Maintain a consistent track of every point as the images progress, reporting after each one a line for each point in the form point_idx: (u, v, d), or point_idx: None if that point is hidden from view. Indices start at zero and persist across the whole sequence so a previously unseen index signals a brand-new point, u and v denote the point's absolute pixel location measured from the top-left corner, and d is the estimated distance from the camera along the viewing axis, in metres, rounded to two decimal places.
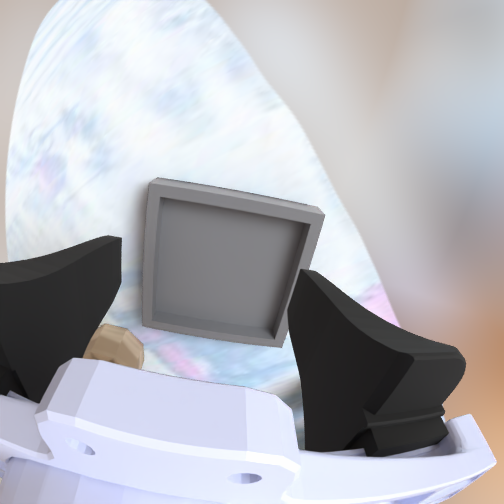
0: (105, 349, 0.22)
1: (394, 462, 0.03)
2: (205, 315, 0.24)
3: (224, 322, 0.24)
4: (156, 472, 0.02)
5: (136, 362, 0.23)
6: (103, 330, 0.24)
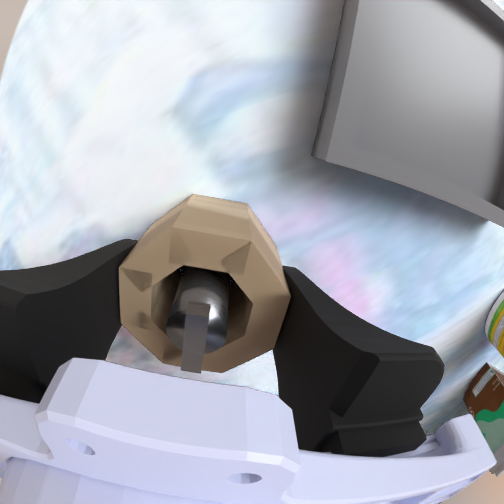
0: (216, 225, 0.09)
1: (394, 462, 0.03)
2: (425, 163, 0.11)
3: (448, 182, 0.11)
4: (156, 472, 0.02)
5: (283, 273, 0.10)
6: (193, 200, 0.11)
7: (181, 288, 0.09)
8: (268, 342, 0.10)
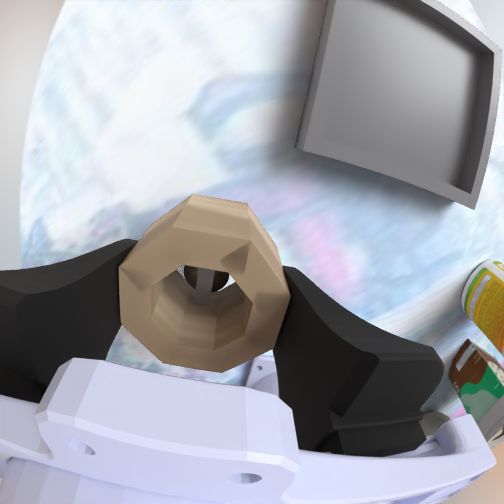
0: (216, 225, 0.09)
1: (395, 461, 0.03)
2: (388, 152, 0.14)
3: (410, 167, 0.14)
4: (156, 472, 0.02)
5: (283, 272, 0.10)
6: (193, 200, 0.11)
7: None
8: (268, 342, 0.10)
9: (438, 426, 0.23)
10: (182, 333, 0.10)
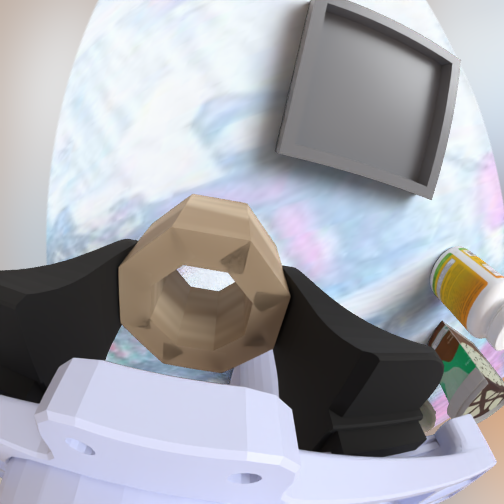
0: (215, 225, 0.09)
1: (394, 462, 0.03)
2: (352, 153, 0.18)
3: (372, 165, 0.18)
4: (156, 472, 0.02)
5: (282, 273, 0.10)
6: (193, 200, 0.11)
7: None
8: (268, 342, 0.10)
9: None
10: (182, 333, 0.10)
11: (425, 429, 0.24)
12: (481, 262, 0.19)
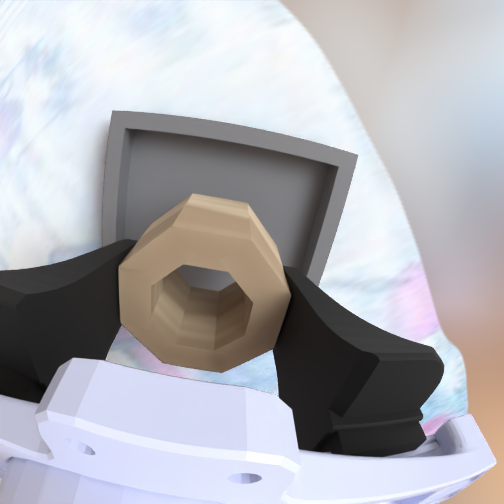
0: (216, 224, 0.09)
1: (394, 462, 0.03)
2: None
3: None
4: (156, 472, 0.02)
5: (283, 272, 0.10)
6: (193, 199, 0.11)
7: None
8: (268, 342, 0.10)
9: None
10: (182, 332, 0.10)
11: None
12: None
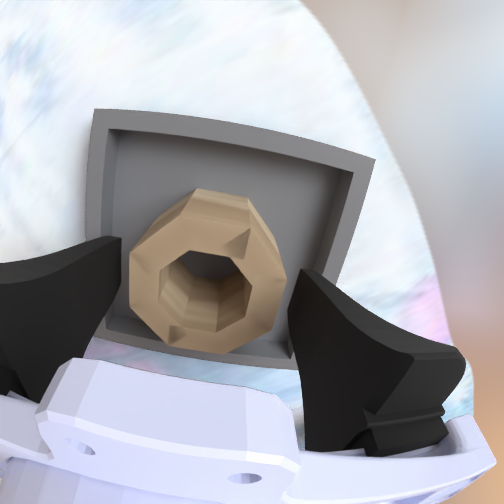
0: (219, 214, 0.10)
1: (394, 462, 0.03)
2: None
3: None
4: (156, 472, 0.02)
5: (280, 260, 0.11)
6: (197, 193, 0.12)
7: None
8: (266, 324, 0.11)
9: None
10: (187, 317, 0.11)
11: None
12: None
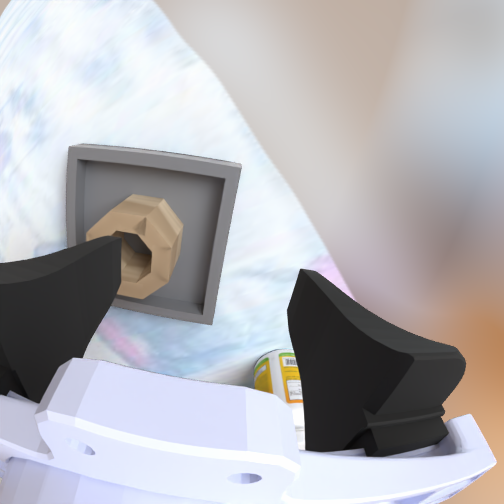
0: (133, 210, 0.16)
1: (394, 462, 0.03)
2: None
3: (152, 295, 0.22)
4: (156, 472, 0.02)
5: (175, 237, 0.17)
6: (130, 197, 0.18)
7: None
8: (164, 277, 0.17)
9: None
10: (122, 274, 0.17)
11: None
12: (289, 377, 0.22)
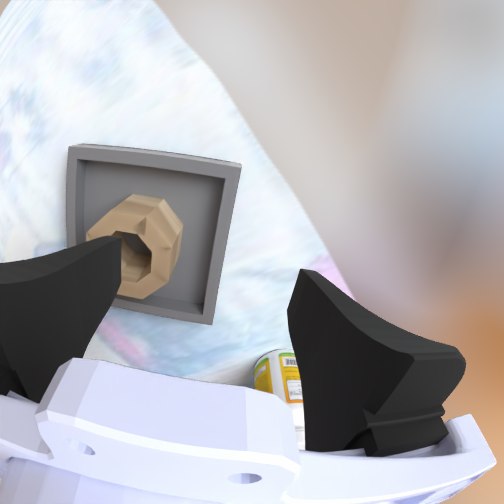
0: (133, 210, 0.16)
1: (394, 461, 0.03)
2: None
3: (152, 295, 0.22)
4: (156, 472, 0.02)
5: (175, 237, 0.17)
6: (130, 197, 0.18)
7: None
8: (164, 277, 0.17)
9: None
10: (122, 274, 0.17)
11: None
12: (289, 377, 0.22)
